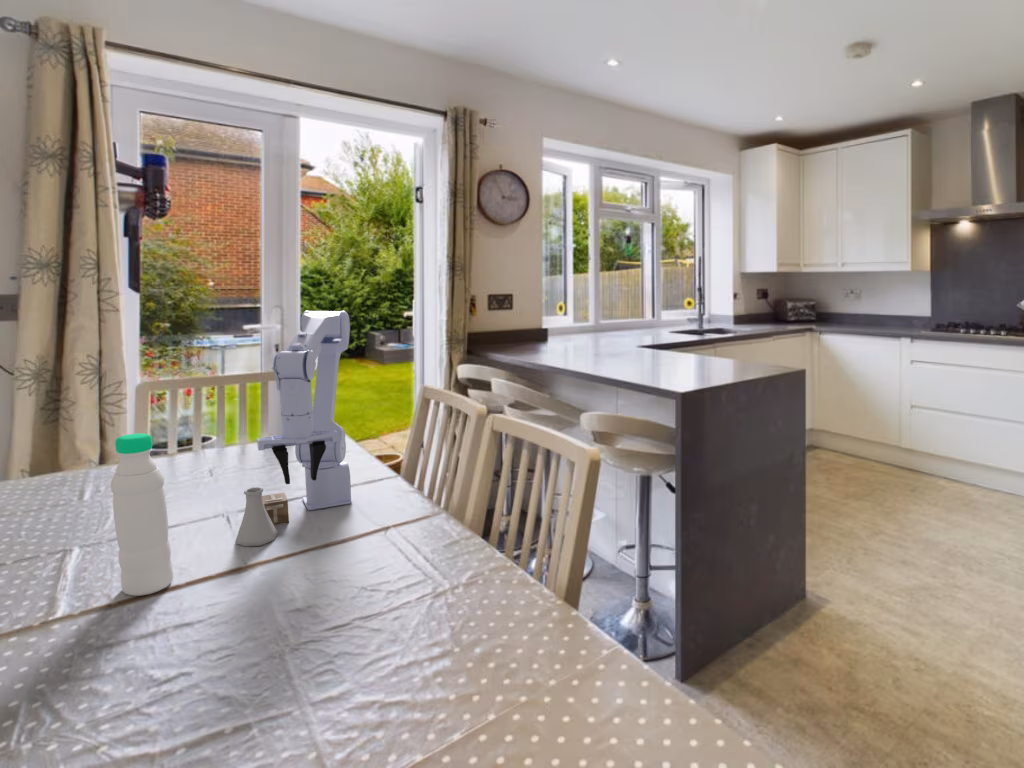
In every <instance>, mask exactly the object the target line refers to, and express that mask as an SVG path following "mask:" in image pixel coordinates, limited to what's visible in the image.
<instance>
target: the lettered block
mask: <svg viewBox="0 0 1024 768" xmlns="http://www.w3.org/2000/svg"><path fill="white" fill-rule="evenodd" d="M262 500H263V503H264V507H265V509H266V511H267V513H268V515H269V517H270V519H271V521H272V523H273V525H274V526H279V525H285V524H289V523H290V520H289V519H290V517H289V515H290V514H289V500H288V498H287V495H286V493H285V492H280V493H273V494H266V495H262Z"/></svg>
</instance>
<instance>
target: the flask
mask: <svg viewBox="0 0 1024 768" xmlns="http://www.w3.org/2000/svg"><path fill="white" fill-rule="evenodd" d="M263 492H264V488H263V487H260V486H259V487H258V486H256V487H255V486H254V487H249V488H246V489H245V490H244V491H243V494H244V495H245V499H246V500H245V501H246V503H245V510H244V513H243V516H242V520H241V524H240V527H239V530H238V533H237V535H236V537H235V538H236V539H235V542H234V543H235V544H237V545H240V546H243V547H258V546H259V547H260V546H263V545H265V544H267V543H270V542H272V541H274V540H275V539H276V538H277V536H278V534H279V532H278V530H277V529H276V527H275V525H273V523H272V521H271V519H270V517H269V515H268V513H267V511H266V509H265V507H264V503H263V500H262V496H263Z"/></svg>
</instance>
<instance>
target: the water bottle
mask: <svg viewBox="0 0 1024 768" xmlns="http://www.w3.org/2000/svg"><path fill="white" fill-rule="evenodd" d="M114 443H115V451H116V454H117V455H118V457H120V458H119V459H120V460H119V463H118V464H117V466H116V467H115V472H114V474H113V476H112V478H111V480H110V489H111V490H110V491H111V492H112V509H113V518H114V519H113V520H114V526H115V527H114V528H115V535H116V540H117V545H118V564H119V567H120V583H121V585H120V587H121V590H122V591H123V593H124V594H126V595H129V596H134V597H138V596H139V597H140V596H146V595H151V594H154V593H157V592H160V591H163V590H164V589H165V588H166V587H168V586H169V585H170V584H171V583H172V582H173V580H174V569H173V564H172V560H171V557H172V556H171V555H172V549H171V543H170V540H169V517H168V505H167V501H166V499H167V498H166V493H165V488H164V484H165V477H164V474H163V472H162V471H161V469H160V468H159V466H157V463H156V462H155V460H154V459H153V458H152V457H151V454H150V453H151V452H152V450H153V449H152V448H153V439H152V436H151V435H150V434H147V433H140V432H139V433H137V432H136V433H129V434H125V435H121V436H118V437H117V438H116V439H115V442H114Z"/></svg>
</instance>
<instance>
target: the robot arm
mask: <svg viewBox="0 0 1024 768" xmlns="http://www.w3.org/2000/svg"><path fill="white" fill-rule="evenodd" d="M300 320H301V321H300V327H301V332H300V331H299V332H298V333H297V334H296V335H295V336H294V337H293V339H292V341H291V342H290V343H289V345H288V346H287V347H286V350H281V351H280V352H279V353H276V354H275V355H274V358H273V367H272V370H273V375H274V379H275V382H276V390H277V391H279V399H280V401H279V402H280V403H279V404H280V415H281V416H280V417H281V420H280V421H281V432H282V433H281V434H277V435H270V436H266V437H258V438H256V439H257V440H256V443H257V445H256V446H257V450H258V451H265V450H267V449H271V451H272V453H273V454H274V456H275V458H276V459H277V461H278V464H279V465H280V468H281V470H282V471H281V472H282V474H283V478H284V482H285V485H290V484H291V477H290V472H289V451H288V448H287V447H293V446H295V451H294V452H295V453H294V454H295V458H296V460H297V462H299V464H301V466H302V468H304V476H305V477H304V478H305V494H306V496H303V497H302V501H303V503H304V505H305V507H306V509H307V510H308V511H314V510H318V509H319V510H320V509H325V508H331V507H337V506H338V507H339V506H343V505H348V504H352V503H353V500H352V492H351V491H352V489H351V488H352V486H351V472H350V467H349V462H347V461H344V460H345V457H346V453H347V451H346V450H347V442H346V432H345V429H344V428H343V427H342V426H341V425H339V424H338V423H337V422H335V410H336V399H337V388H338V387H337V386H338V376H339V365H340V364H339V363H340V358H341V354H342V353H343V352H345V351H346V350H348V349H349V348H348V347H349V344H350V333H351V332H350V331H351V325H350V322H351V321H350V315H349V314H348V312H347V311H346V310H340V311H339V310H337V311H336V310H333V311H332V310H330V311H329V310H306V309H305V311H304V312H303V313H302V315H301V319H300ZM316 360H317V361H316ZM316 365H317V366H316ZM315 371H316V376H315ZM314 377H315V378H314ZM314 379H315V386H314V395H313V390H312V381H313V380H314Z"/></svg>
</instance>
